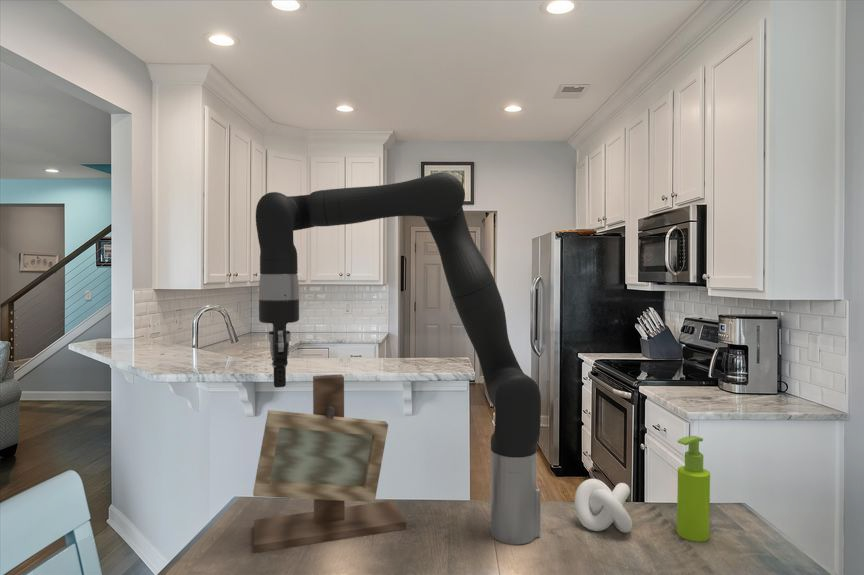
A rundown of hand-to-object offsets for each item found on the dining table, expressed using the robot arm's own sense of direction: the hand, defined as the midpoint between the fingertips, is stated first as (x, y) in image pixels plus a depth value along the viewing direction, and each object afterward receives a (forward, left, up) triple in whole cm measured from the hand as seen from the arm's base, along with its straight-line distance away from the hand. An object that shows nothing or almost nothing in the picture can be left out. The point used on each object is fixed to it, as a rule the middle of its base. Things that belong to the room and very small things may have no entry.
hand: (279, 386), depth 105 cm
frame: (-7, 0, -23) cm, 24 cm away
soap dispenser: (-79, +23, -31) cm, 88 cm away
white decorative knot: (-65, +15, -31) cm, 74 cm away
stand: (-10, -3, -31) cm, 33 cm away
